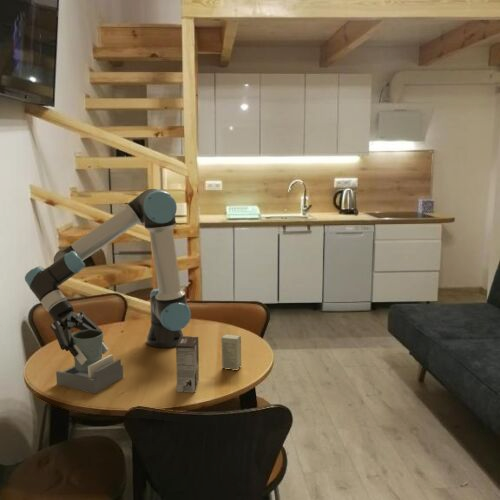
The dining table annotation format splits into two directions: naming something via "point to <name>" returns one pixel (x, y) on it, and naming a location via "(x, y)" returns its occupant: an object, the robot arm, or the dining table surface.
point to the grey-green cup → (88, 347)
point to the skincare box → (231, 351)
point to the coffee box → (187, 364)
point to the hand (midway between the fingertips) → (95, 357)
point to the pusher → (99, 365)
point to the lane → (100, 381)
